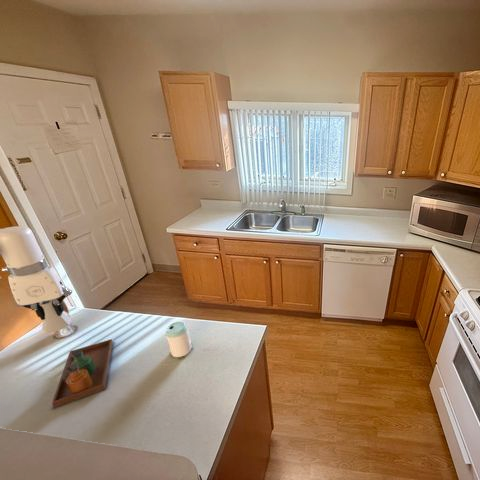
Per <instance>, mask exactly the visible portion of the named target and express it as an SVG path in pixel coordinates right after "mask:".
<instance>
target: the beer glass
mask: <svg viewBox="0 0 480 480" xmlns="http://www.w3.org/2000/svg"><path fill="white" fill-rule="evenodd" d="M62 304H63V307H64V311H63V312H62V313H63V314H65V315H66V316H68V317H69V318H70V319H71V314H70V311H69V310H70V309H69V307H68V305H67V304H66V302H65V299H64V300H63V301H62ZM75 331H76V327H75V326H74V325H73V323H72V322H71V323H70V325H69V326H67V327H65V328H63V329H61V330H59V331H55V332H53V333H54V336H55V338H58V339H61V338H65V337H68V336H70V335H72V334H73V333H74V332H75Z"/></svg>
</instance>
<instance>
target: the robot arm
mask: <svg viewBox="0 0 480 480" xmlns="http://www.w3.org/2000/svg"><path fill="white" fill-rule="evenodd" d="M0 256H1V257H2V259H3V262H4V263H5V265H6V266H5V267H1V271H2V273H9V275H8V277H7V279H8V283H9V287H10V290H11V293H12V296H13V299H14V302H13V304H12V305H13V306H14V307H22V308H26V309H29V310H31V311H33V312H35V314H36V316H37V317H38V318H40V320H41V321H43V320H44V319H45V317H44V312H43V308H42V306H41V305H39V303H40V302H43V301H48V300H52V301H53V303H54V309H55V311H56V313H57V315H58V316H61V315H62V312H63V311H64V307H63V304H62V301H63V300H64V301H65V299H66V298H67V297H69V296H70V295H72V293H73V290H72V289H71V288H69V287H67V286H65V284H64V282H63V281H62V278H61V277H60V275H59V274H58V273H57V271H56V270H55V269H54V268H53V266H52V265H48V263H47V260H46V259H45V257H44V253H43V251H42V250H41V247H40V245H39V243H38V241H37V239H36V237H35V235H34V232H33V231H32V229H31V228H30V227H28V226H24V225H15V226H9V227H4V228H0Z"/></svg>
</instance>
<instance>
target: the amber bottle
mask: <svg viewBox="0 0 480 480" xmlns="http://www.w3.org/2000/svg"><path fill="white" fill-rule="evenodd" d="M67 371H68V373H70V375H69V376H68V378H67V379H66V383H67V385H68V387H69V389H70V390H71V392H72V394H75V393H78V392H81V391H84V390H87V389H89V388H91V386H92V385H93V381H92V379H91V377H90V375H89V373H88V371H87V370H86V369H81V370H79V366H78V364H72V365H70V366H69V367H68V368H67Z"/></svg>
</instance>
